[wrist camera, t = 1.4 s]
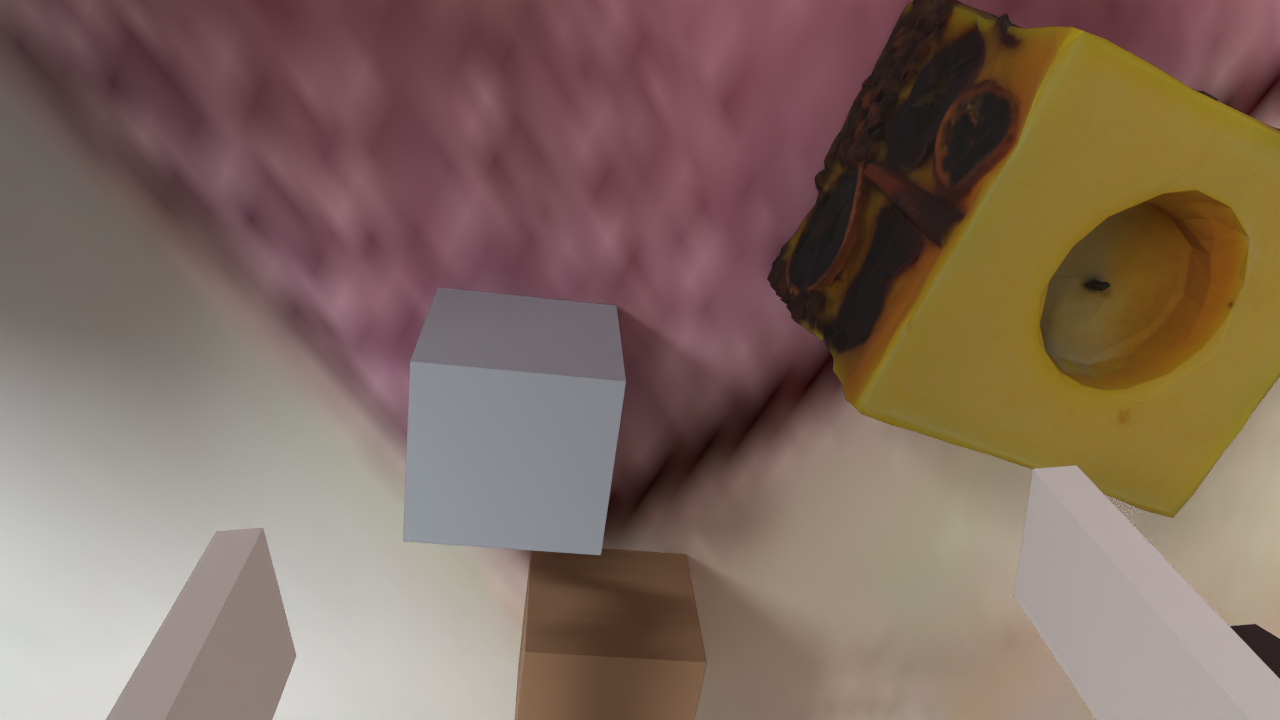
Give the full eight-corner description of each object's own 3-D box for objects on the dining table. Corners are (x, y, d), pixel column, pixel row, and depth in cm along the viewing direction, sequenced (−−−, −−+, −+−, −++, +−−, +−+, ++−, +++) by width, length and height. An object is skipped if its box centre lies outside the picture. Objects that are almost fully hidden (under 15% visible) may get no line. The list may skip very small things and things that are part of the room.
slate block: (430, 442, 33) (403, 541, 28) (438, 286, 31) (409, 361, 26) (595, 456, 34) (600, 555, 29) (616, 304, 32) (625, 381, 26)
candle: (760, 279, 32) (836, 417, 23) (905, -15, 28) (1065, 9, 19) (1008, 376, 34) (1169, 537, 25) (1173, 115, 30) (1430, 192, 21)
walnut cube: (518, 663, 38) (510, 785, 33) (531, 541, 36) (524, 651, 30) (663, 671, 39) (678, 792, 33) (685, 553, 36) (706, 662, 31)
